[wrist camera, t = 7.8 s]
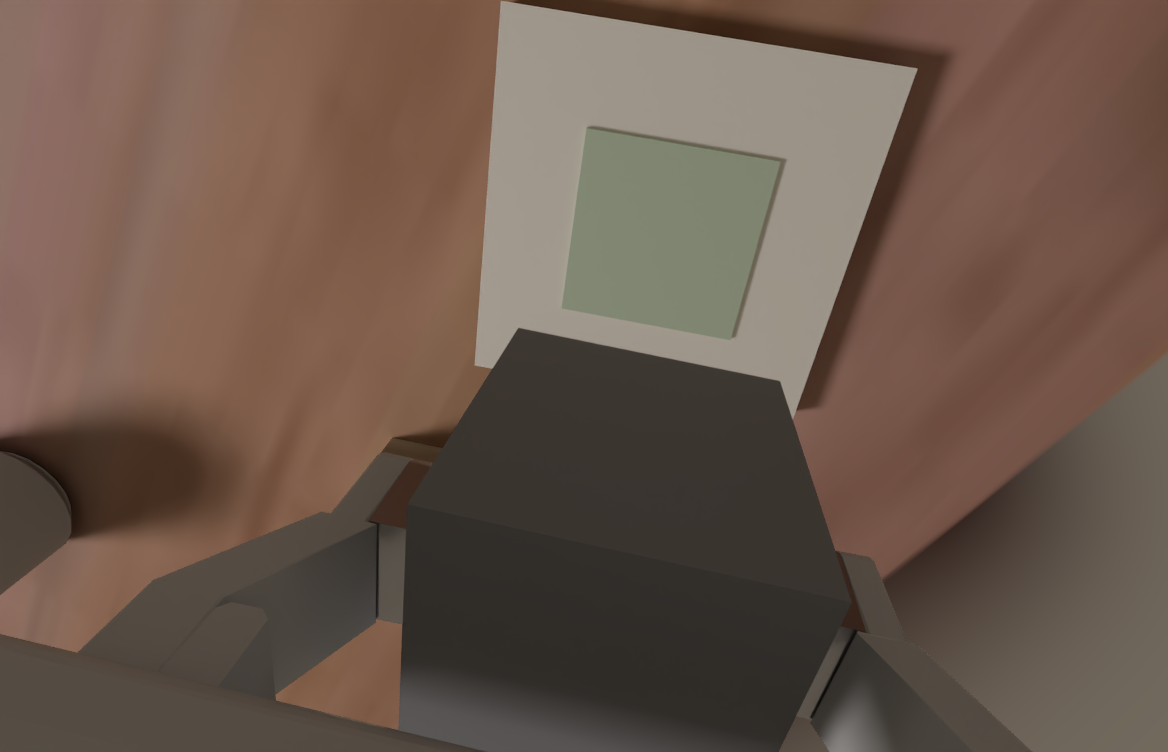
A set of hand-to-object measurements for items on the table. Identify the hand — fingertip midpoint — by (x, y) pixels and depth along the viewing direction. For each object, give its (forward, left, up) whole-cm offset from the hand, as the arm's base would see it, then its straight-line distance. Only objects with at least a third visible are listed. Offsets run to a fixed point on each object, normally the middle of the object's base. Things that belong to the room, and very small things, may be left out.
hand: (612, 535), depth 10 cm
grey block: (0, 0, -2) cm, 2 cm away
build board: (-1, 0, -18) cm, 18 cm away
